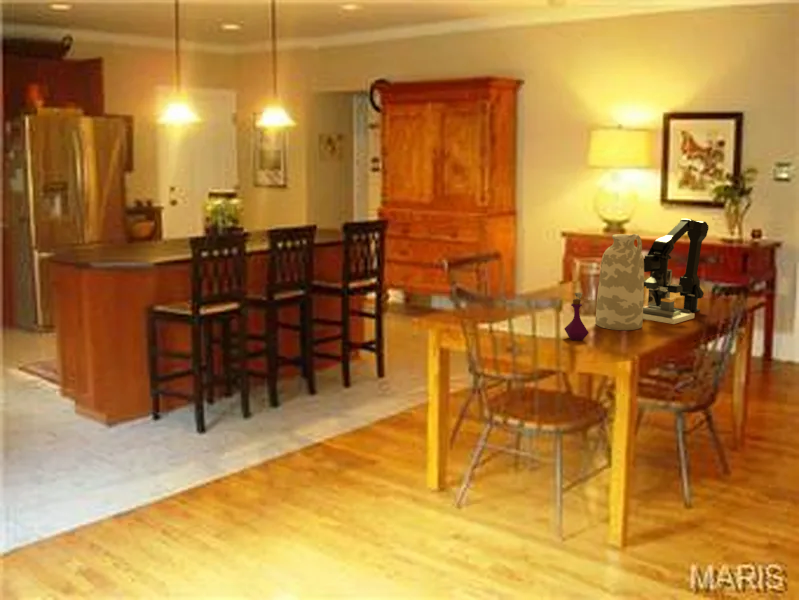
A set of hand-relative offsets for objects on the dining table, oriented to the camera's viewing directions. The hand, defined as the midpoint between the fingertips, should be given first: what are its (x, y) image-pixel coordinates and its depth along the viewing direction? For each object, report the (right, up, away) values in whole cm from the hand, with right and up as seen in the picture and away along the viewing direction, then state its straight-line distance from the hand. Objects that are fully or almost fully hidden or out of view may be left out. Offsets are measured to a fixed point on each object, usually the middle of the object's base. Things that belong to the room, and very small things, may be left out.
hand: (658, 306), depth 390 cm
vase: (-21, -8, -19) cm, 29 cm away
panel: (+1, -5, 0) cm, 5 cm away
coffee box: (+8, +1, +29) cm, 30 cm away
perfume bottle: (-43, -12, -43) cm, 62 cm away
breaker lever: (+3, -3, -3) cm, 5 cm away
